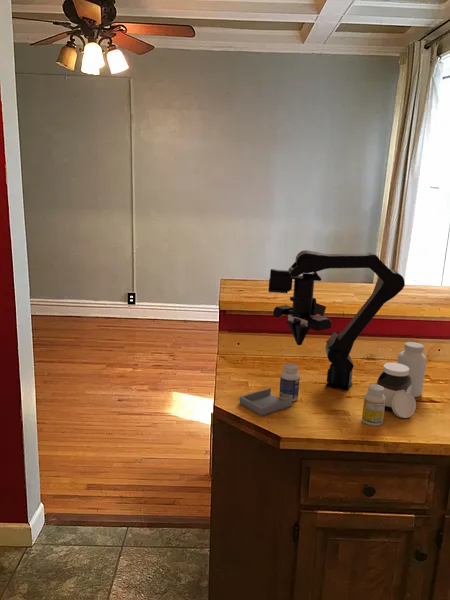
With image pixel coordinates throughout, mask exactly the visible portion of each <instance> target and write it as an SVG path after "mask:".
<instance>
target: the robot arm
mask: <svg viewBox="0 0 450 600" xmlns="http://www.w3.org/2000/svg"><path fill="white" fill-rule="evenodd" d="M327 269H328V270H329V269H370V270H371V271H372V272H373V273H374V274H375V275H376V276H378V279H377V281H376V283H375V285H374V288H373V291H372V293H371V295H370V296H369V297H368V299H367V300H366V301H365V302H364V304H363V305H362V306H361V308H359V310H358V311H357V313H356V314H355V315H354V317H353V318H352V319H351V320H350V321H349V323H348V324H347V325H346V327H345V328H344V329H343V330H342V331H341V332H339V333H336V331H333V332H332V334H331V336H330V338H328V339H327V340H326V341H325V342H326V345H325V353H326V357H327V359H328V361H329V362H330V364H329V368H328V369H327V377H326V387H329V388H333V389H336V390H341V391H349V390H350V388H351V387H352V385H353V384H354V383H353V381H352V379H353V369H354V367H355V365H354V363H353V360H352V358H351V356H350V353H351V351H352V348H353V346H354V344H355V341H356V340H357V338H358V337H359V336H360V335H361V334H362V332H363V331H364V330H365V328H366V327H367V326H368V325H369V324H370V322H371V321H372V320H373V319H374V317H375V315H377V313H378V312H379V311H380V310H381V308H382V307H383V306H384V305H385V303H387V302H389V301H390V300H393V298H395V297H396V296H397V295H398V294H399V293H400V292H401V291H402V290H403V289H404V288H405V284H406V283H405V279H404V277H403V276H402V275H401V274H400V273H399V272H398V271H396V270H395V269H392V268H391V269H390V268H389V267H388V266H387V265H386V264H385V263H384V262H383V261H381V260H380V258H379V256H378V255H377V254H376V253H373V252H368V253H334V254H333V253H332V254H329V253H322V252H318V251H314V250H313V251H311V250H306V249H305V250H301V251H299V252H298V253H297V254H296V256H295V261H294V262H293V264H292V265H291V266H290V267H289V268H288V270H282V269H275V268H271V269H270V271H269V272H270V274H269V278H268V293H271V294H272V293H273V294H274V293H275V294H288V292H290V291H292V290H293V294H292V295H293V296H290V297H289V301H292V306H291V305H287V304H284V305H277V306H275V308H273V314H272V316H273V317H276V318H281V317H283V316H286V317H287V320H286V321H285V323H286V324H287V325H288V327H289V328H290V331H291V333H292V336H293V338H294V341H295V343H296V345H297V346H302V345H303V343H304V340H305V338H306V336H307V334H308V333H309V330H313V331H316V332H320V331H321V332H322V331H324V330H329V329H332V320H331V319H330V318H328V317H325V316H324V315H325V312H326V309H327V306H325V305H324V304H320V303H318V302H317V298H315V297H314V289H315V282H318V281H319V282H321V281H322V278H321V276H320V275H319V274H318V272H321V271H323V270H327ZM293 280H294V282H293ZM293 283H294V285H293ZM292 288H293V289H292ZM317 315H319V316H317ZM313 316H314V317H313Z"/></svg>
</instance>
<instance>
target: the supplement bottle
mask: <svg viewBox="0 0 450 600" xmlns="http://www.w3.org/2000/svg"><path fill="white" fill-rule="evenodd" d="M383 394H384V387H382V386H380V385H377V383H376V384H374V383H371V384H369V385H368V386H367V392H366V393H365V394H364V398H363V405H362V406H363V407H362V415H361V416H362V417H361V420H362V421H363V423H364V424H366V425H369V426H380V425H382V424H383V423H384V416H385V402H386V398H385V396H384V395H383Z"/></svg>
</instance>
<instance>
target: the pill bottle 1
mask: <svg viewBox="0 0 450 600" xmlns="http://www.w3.org/2000/svg"><path fill="white" fill-rule="evenodd" d="M298 371H299V366H298V365H297V364H295V363H290V362H289V363H288V362H287V363H284V364H283V371H281V373H280V378H279V380H280V381H279V393H278V398H279V399H281V400H283V401H284V400H287V399H290V398H291V399H292V402H295V401H297V400H298V399H299V391H300V379H301V375H300V373H299V372H298Z"/></svg>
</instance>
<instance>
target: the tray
mask: <svg viewBox="0 0 450 600" xmlns="http://www.w3.org/2000/svg"><path fill="white" fill-rule="evenodd" d="M271 393H272V388H270V387H267V388H265V389H260V390H258V391H254V392H251V393H247V394H244V395H240V396H239V405H241V406H243V407H244V408H246V409H248V410H250V411H251V412H253V413H254V414H257V415H258V416H259V417H264V416H267V415H269V414H272V413H276V412H279V411H282V410H286V409H288V408H291V407H292V403H293V401H292V399H291V398H290V399H287V400H282V399H280V397H276V396H274V395H273V394H271Z"/></svg>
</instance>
